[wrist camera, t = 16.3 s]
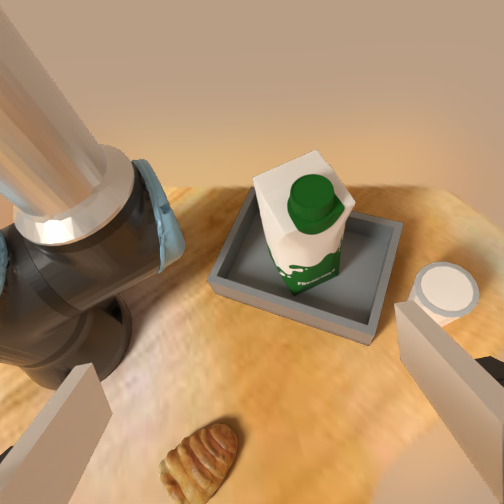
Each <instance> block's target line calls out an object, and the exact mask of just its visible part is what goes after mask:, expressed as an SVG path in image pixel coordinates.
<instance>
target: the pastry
mask: <svg viewBox="0 0 504 504" xmlns="http://www.w3.org/2000/svg"><path fill="white" fill-rule="evenodd" d="M237 447H238V438H237V436H236V434H235V433H234V432H233V431H232V430H231V429H230V428H229V426H227V425H225V424H219V423H215V424H213V425H211V426H209V427H207V428H203V429H201V430H199V431H198V432H196V433H195V434H193V435H192V436H189V437H186V438H184V439H183V440H182V442H181V443H180V444H179V445H178V446H177V447H176V448H175V449H174V450H171V451H170V452H168V454H167V457H166V458H165V459H164V460H163V461H161V463H160V465H159V475H160V480H161V482H162V484H163V486H164V488H165V490H166V492H167V494H168V496H169V497H170V498H171V499H172V500H173V501H174V503H175V504H206V503H207V502H208V501H209V499H210V498H211V496H212V495H213V494H214V493H215V491H216V490H217V489H218V488H219V487H220V485H221V483H222V481H223V479H224V478H225V476H226V473H227V471H228V470H229V468H230V466H231V465H232V463H233V461H234V459H235V456H236V452H237Z"/></svg>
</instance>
